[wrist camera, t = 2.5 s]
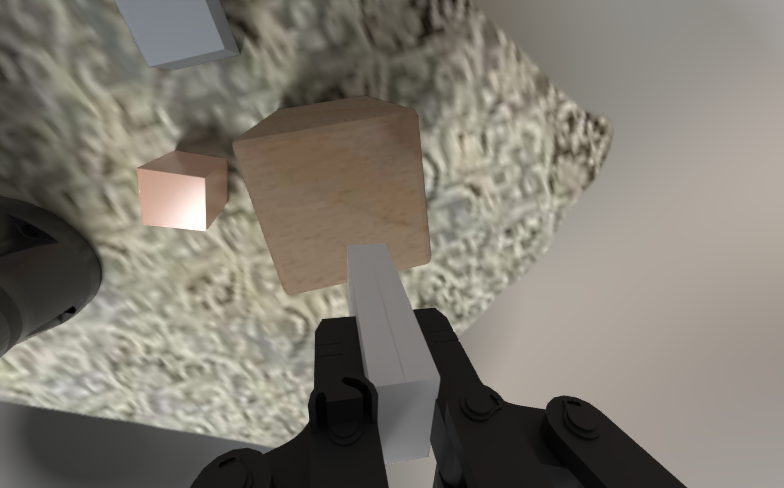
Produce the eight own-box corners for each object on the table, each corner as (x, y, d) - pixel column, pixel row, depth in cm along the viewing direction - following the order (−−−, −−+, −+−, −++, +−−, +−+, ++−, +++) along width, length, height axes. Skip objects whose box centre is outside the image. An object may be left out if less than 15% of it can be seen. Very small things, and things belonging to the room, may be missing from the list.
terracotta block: (177, 196, 36) (142, 224, 29) (174, 150, 34) (136, 168, 27) (227, 202, 37) (206, 231, 30) (227, 158, 35) (204, 178, 28)
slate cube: (177, 69, 31) (148, 67, 25) (140, -9, 28) (99, -29, 23) (240, 54, 31) (224, 48, 26) (210, -24, 28) (186, -48, 23)
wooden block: (273, 109, 34) (226, 140, 16) (368, 94, 35) (419, 107, 17) (299, 200, 38) (284, 299, 21) (382, 184, 40) (434, 265, 22)
